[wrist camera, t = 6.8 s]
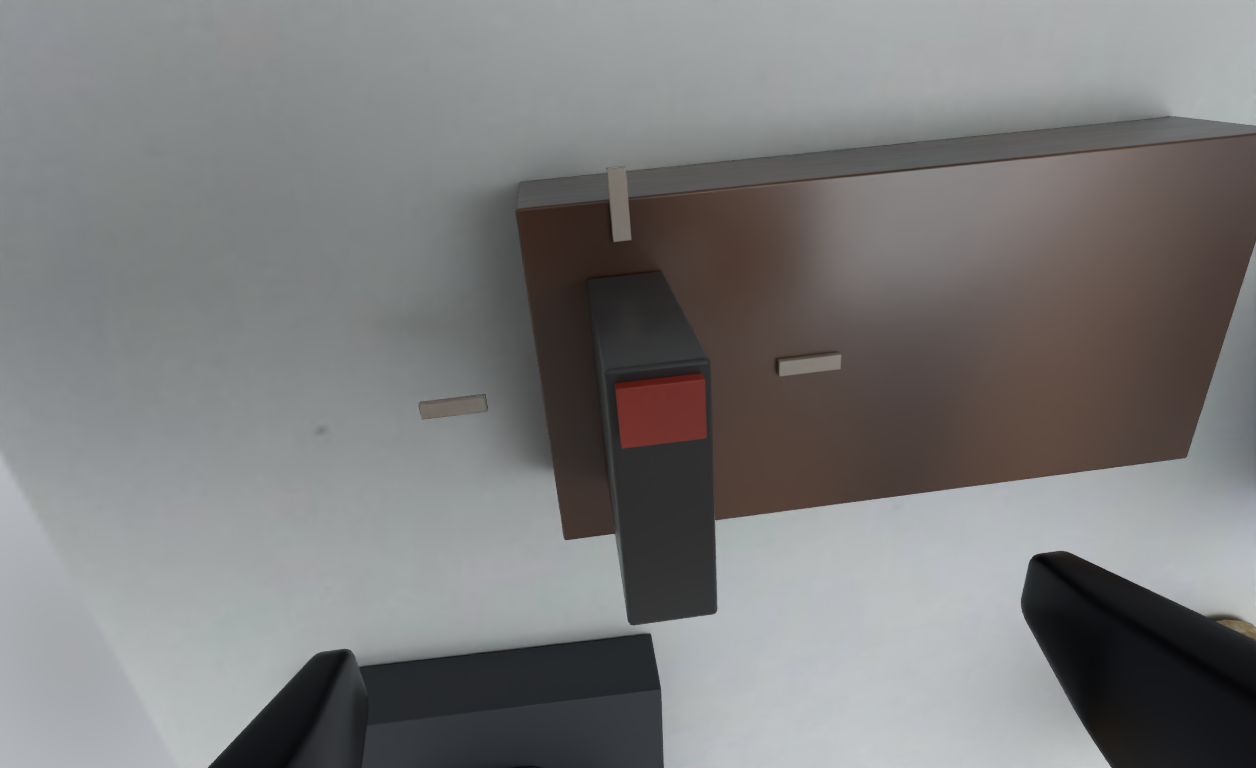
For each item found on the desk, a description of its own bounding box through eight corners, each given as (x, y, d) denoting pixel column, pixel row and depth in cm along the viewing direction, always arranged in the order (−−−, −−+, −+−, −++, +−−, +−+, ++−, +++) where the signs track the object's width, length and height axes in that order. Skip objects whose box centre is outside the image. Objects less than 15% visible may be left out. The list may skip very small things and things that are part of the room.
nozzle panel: (471, 503, 20) (460, 579, 17) (399, 165, 16) (368, 193, 13) (1099, 422, 21) (1185, 481, 18) (1182, 89, 17) (1310, 99, 14)
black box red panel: (675, 475, 16) (721, 625, 12) (607, 484, 16) (630, 638, 12) (664, 270, 14) (715, 365, 10) (585, 278, 14) (603, 378, 10)
